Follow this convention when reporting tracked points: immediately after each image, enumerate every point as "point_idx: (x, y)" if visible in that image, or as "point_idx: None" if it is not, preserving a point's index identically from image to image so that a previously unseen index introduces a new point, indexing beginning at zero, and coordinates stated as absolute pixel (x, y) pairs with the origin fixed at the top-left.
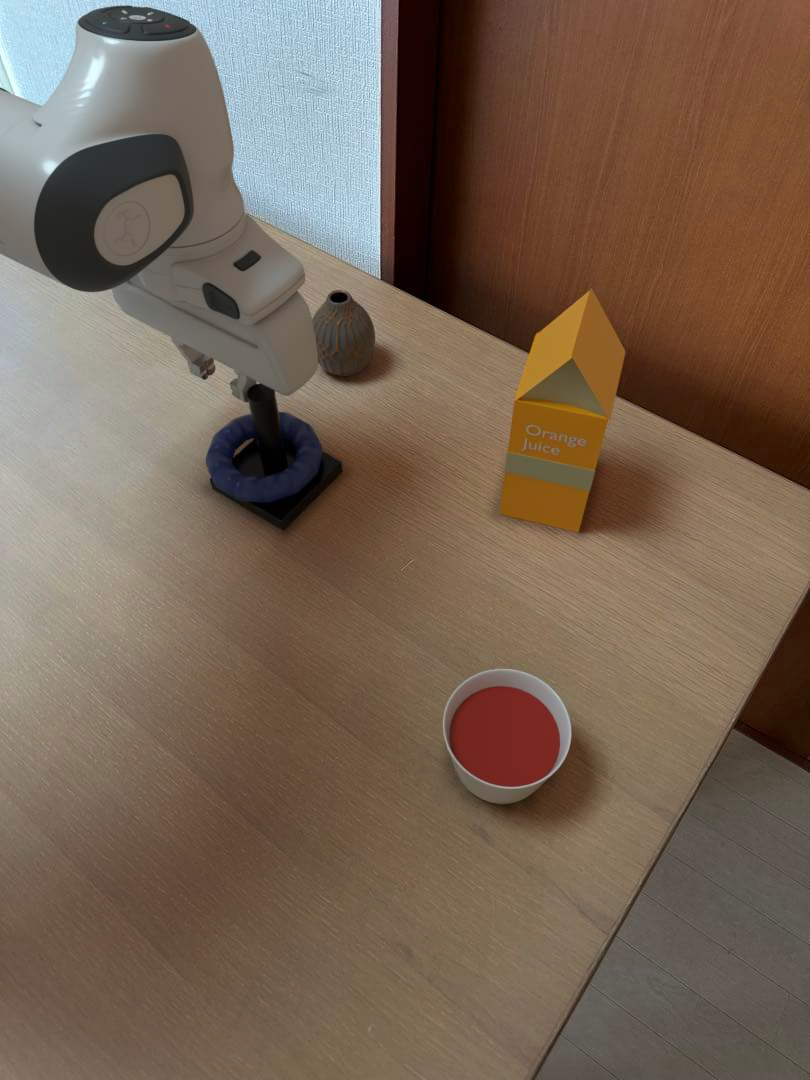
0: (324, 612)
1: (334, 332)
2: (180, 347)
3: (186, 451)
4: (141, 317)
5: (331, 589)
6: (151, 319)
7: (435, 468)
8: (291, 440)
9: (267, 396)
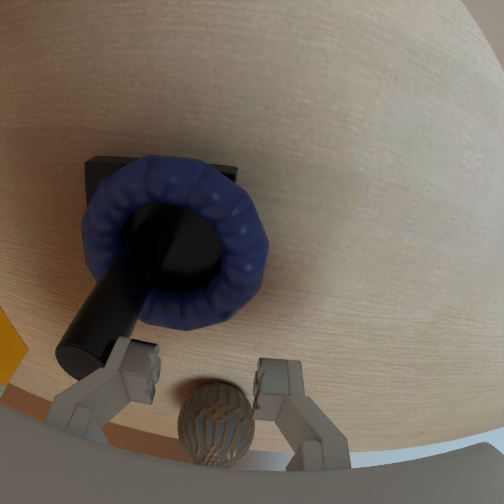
0: (3, 95)
1: (201, 438)
2: (317, 432)
3: (324, 214)
4: (439, 477)
5: (11, 123)
6: (401, 500)
7: (48, 313)
8: (156, 292)
9: (63, 361)
